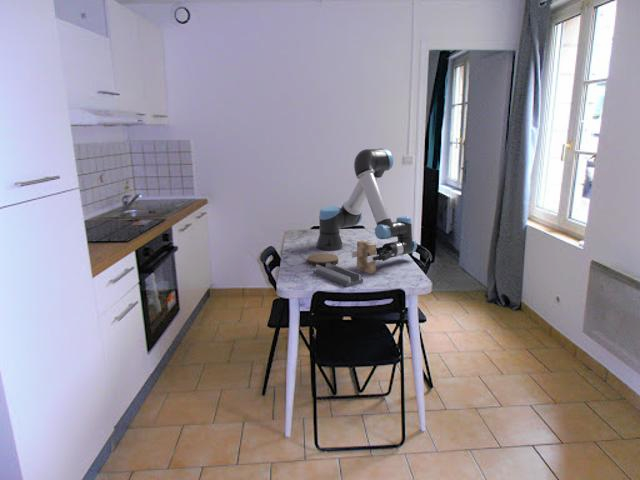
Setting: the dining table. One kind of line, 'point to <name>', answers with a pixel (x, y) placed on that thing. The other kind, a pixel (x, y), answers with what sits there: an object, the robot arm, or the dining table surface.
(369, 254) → the door
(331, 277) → the track
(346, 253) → the dining table surface
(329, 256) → the wood log slice
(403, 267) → the dining table surface
